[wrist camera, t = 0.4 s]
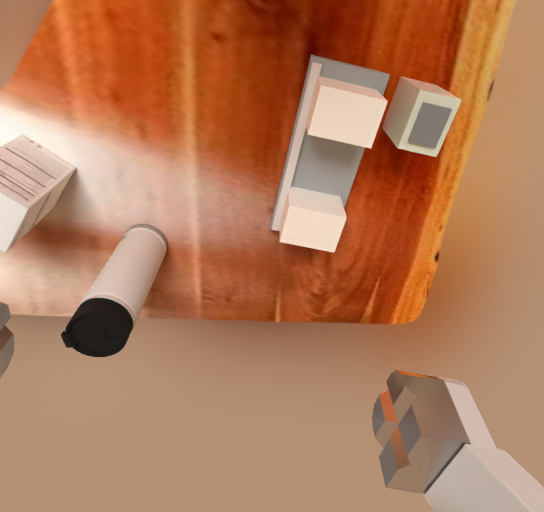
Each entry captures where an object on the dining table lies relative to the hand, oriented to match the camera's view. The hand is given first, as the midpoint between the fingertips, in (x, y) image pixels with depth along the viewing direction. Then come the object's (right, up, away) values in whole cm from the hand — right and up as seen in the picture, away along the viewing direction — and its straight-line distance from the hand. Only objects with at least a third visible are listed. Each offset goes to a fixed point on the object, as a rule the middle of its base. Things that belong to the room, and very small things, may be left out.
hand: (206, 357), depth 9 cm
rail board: (+8, +15, +44) cm, 47 cm away
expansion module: (+18, +20, +40) cm, 48 cm away
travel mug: (-17, +4, +51) cm, 54 cm away
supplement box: (-29, +13, +46) cm, 56 cm away
